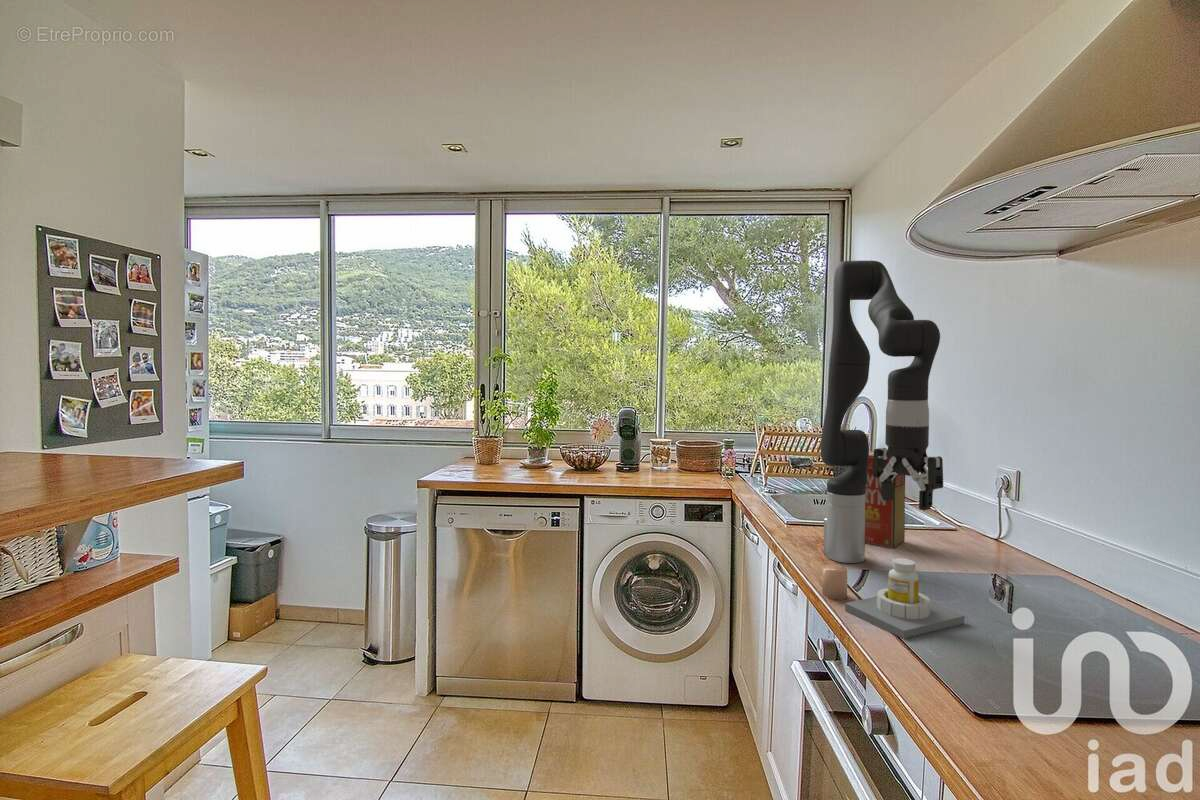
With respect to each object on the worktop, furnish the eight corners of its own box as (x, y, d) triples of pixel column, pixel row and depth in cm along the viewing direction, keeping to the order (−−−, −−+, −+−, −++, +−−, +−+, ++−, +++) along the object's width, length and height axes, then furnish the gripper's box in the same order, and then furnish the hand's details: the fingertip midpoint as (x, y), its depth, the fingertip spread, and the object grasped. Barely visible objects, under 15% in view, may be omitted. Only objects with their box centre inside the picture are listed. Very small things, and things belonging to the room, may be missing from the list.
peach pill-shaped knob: (817, 593, 130) (817, 566, 130) (834, 589, 132) (835, 563, 132) (834, 601, 126) (834, 573, 126) (852, 597, 128) (852, 570, 127)
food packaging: (844, 539, 170) (845, 452, 168) (857, 532, 176) (858, 449, 175) (894, 549, 160) (895, 457, 159) (906, 541, 167) (907, 453, 166)
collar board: (845, 610, 121) (845, 591, 121) (902, 597, 127) (902, 579, 127) (903, 638, 108) (904, 617, 108) (964, 623, 114) (964, 602, 114)
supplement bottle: (898, 615, 115) (898, 566, 114) (882, 604, 120) (882, 557, 120) (924, 613, 115) (925, 565, 115) (907, 603, 121) (908, 556, 120)
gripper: (954, 425, 111) (952, 511, 112) (890, 419, 124) (889, 495, 125) (925, 427, 108) (923, 515, 109) (863, 420, 121) (862, 499, 122)
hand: (905, 504), depth 117 cm, fingers open, 8 cm apart
